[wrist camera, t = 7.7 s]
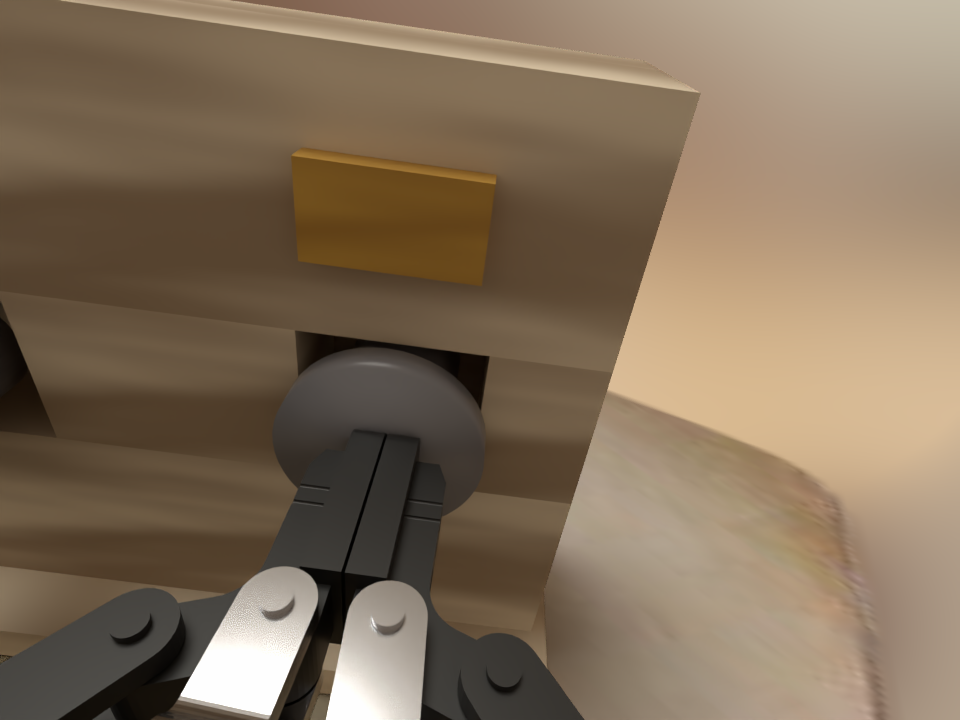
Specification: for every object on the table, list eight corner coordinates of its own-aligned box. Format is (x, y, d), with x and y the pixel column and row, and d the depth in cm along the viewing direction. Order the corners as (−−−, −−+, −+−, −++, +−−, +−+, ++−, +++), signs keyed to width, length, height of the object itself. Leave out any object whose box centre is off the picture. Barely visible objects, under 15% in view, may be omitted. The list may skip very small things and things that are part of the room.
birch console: (539, 719, 18) (775, 120, 8) (-160, 635, 17) (-888, -119, 7) (533, 519, 24) (656, 59, 14) (28, 455, 24) (-213, -68, 14)
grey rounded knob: (471, 537, 14) (498, 385, 11) (280, 513, 14) (262, 354, 11) (480, 427, 17) (502, 291, 15) (328, 407, 17) (322, 266, 15)
